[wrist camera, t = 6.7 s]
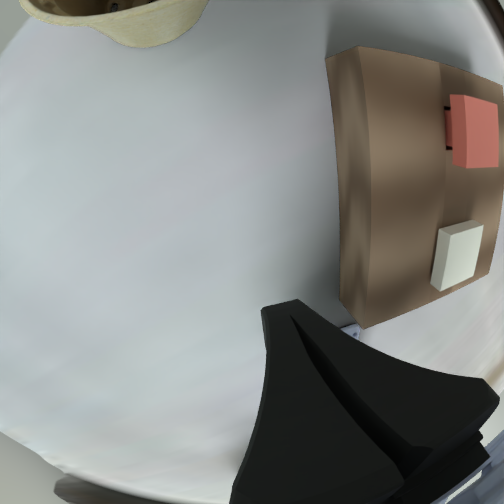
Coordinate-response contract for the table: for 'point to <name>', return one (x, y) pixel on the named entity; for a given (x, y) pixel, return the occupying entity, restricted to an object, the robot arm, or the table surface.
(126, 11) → the flower pot
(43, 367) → the table surface
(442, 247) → the cream button
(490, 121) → the red button
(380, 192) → the panel
